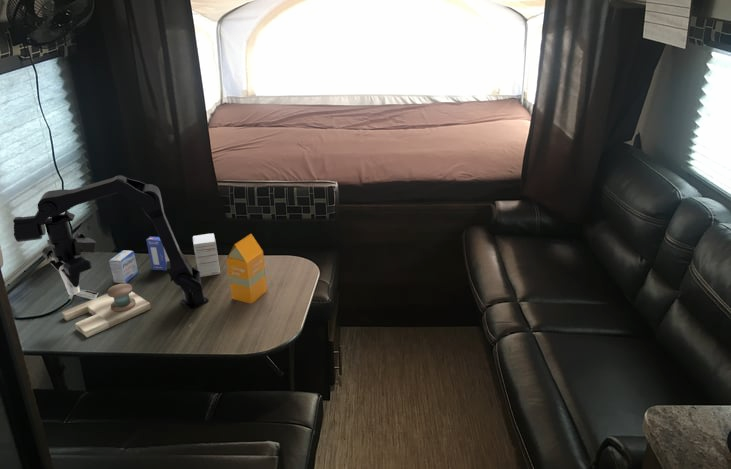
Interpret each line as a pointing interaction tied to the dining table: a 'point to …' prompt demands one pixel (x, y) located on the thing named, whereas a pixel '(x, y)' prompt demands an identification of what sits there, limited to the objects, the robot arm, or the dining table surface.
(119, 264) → the medicine box
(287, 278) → the dining table surface
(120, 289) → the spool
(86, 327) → the board
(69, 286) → the milkshake
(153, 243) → the walkman
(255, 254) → the orange juice
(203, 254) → the supplement box
